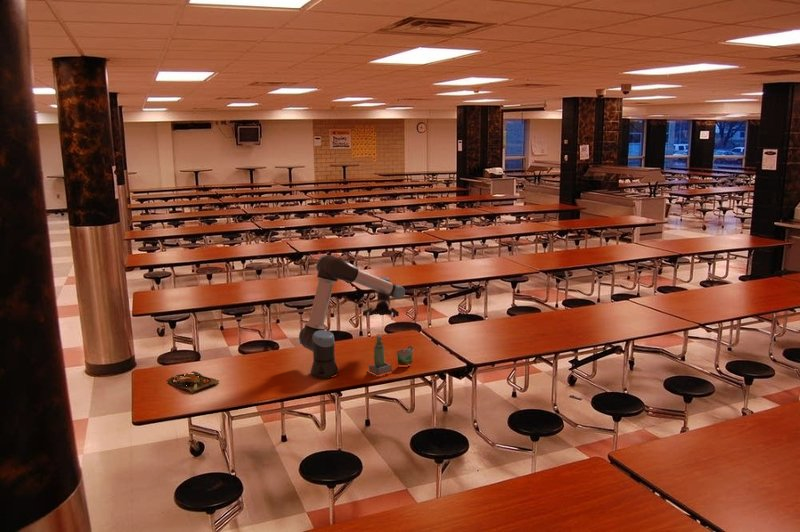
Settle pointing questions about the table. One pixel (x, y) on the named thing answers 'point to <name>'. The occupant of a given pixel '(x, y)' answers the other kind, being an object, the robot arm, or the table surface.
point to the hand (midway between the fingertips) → (379, 317)
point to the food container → (405, 356)
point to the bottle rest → (380, 369)
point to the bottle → (379, 352)
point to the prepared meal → (192, 381)
